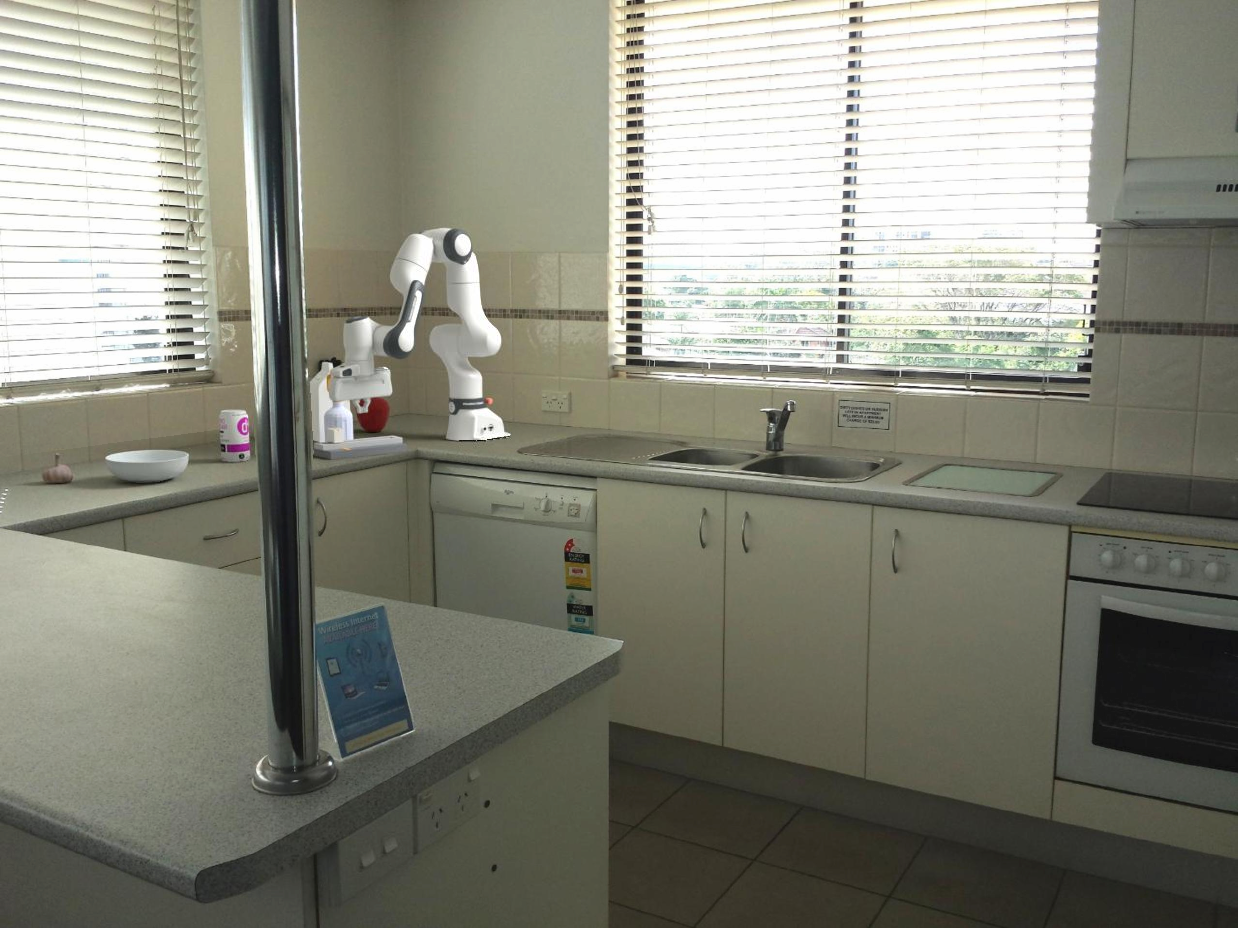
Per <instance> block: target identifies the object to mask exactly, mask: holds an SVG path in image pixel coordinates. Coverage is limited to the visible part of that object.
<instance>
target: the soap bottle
mask: <svg viewBox="0 0 1238 928" xmlns="http://www.w3.org/2000/svg"><path fill="white" fill-rule="evenodd" d="M330 379H331V374H329V375H327V391H328V392H329V381H330ZM353 417H354V416H353V413H352V411H351V410H350V411H349V410H348V409H346V408H344V407H343V401H333V407H332V408H331V409H329V410H328V411H327V412H326V413H325V415H324V430H325V442H329V441H327V428H340V429H343V440H352V439H354V425H353V424H354V422H353V421H354V420H353Z"/></svg>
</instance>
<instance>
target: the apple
mask: <svg viewBox="0 0 1238 928" xmlns="http://www.w3.org/2000/svg"><path fill="white" fill-rule="evenodd" d="M370 399H371V402H370V404H369V406H368V412H367V413H357V407H356V406H355V407H354V409H355V412H356V413H355V415H356V418H357V420H358V422H359V425H360V427H361V428H362V429H364V430H365V432H369V433H380V432H382V431H383V430H384V428H385V427H386V426H387V422H388V418H389V417H390V409H391V407H390V405H389V403H388V401H387V400H385V399H384V398H382V397H373V398H370ZM364 403H365V401H364V400H363V399H360V402H359V405H360V407H363V405H364Z"/></svg>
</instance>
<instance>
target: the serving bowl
mask: <svg viewBox="0 0 1238 928" xmlns="http://www.w3.org/2000/svg"><path fill="white" fill-rule="evenodd" d="M189 457H190V454H189V453H187V452H185V451H181V450H173V449H172V450H171V449H145V450H142V449H141V450H132V451H123V452H117V453H116V452H115V453H112V454H109V455H107V456H105V458H104V461H105V465H106V468H107V469H108V471H109V472H110V473H111V474H112V476H114V477H115V478H117V479H120V480H123V481H128V482H131V483H134V482H135V484H153V482H154V483H160V481H161V482H164V480H165V481H167V480H170V479H173V478H175V477H177V476H180V475H181V474H182V473H183V472H184V471H185V469H186V468H187V466H188V464H189Z"/></svg>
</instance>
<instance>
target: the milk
mask: <svg viewBox="0 0 1238 928" xmlns="http://www.w3.org/2000/svg"><path fill="white" fill-rule="evenodd" d="M333 368H334V365H333V362H328V361H323V362H322V363H321V369H320V371H319V372H318V373H316V375H315V376H314V377H313V378H312V379H311V380H310V381H309V383H310V393H311V411H312V431H313V440H312V441H313V442H316V443H320V442H325V430H324V415H325V413H326V412H327V411H328V410H329V409H331V408H332V407H333V401H332V400H331V399H330V398H329V392H328V391H327V375H329V374H330V370H331V369H333ZM332 377H333V376H331V378H332ZM350 401H351V400H345V401H343V407H344V408H346V409H348V410H349V411H350V412H351V403H350Z"/></svg>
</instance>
